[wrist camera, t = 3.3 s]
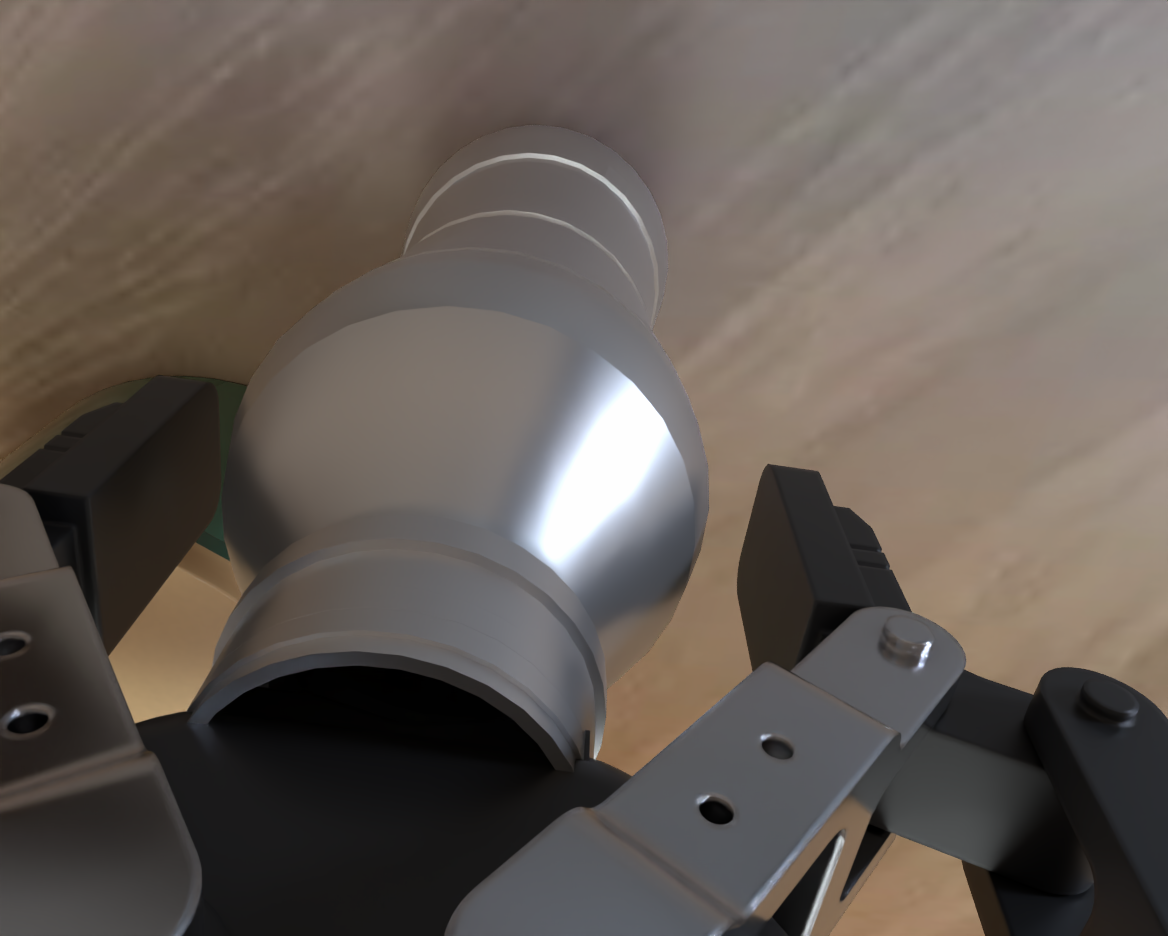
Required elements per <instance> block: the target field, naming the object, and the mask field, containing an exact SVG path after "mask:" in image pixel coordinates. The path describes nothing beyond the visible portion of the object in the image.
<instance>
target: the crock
mask: <svg viewBox="0 0 1168 936" xmlns="http://www.w3.org/2000/svg"><path fill="white" fill-rule="evenodd" d="M173 377H176V378H183V379H190V380H197V381H203V382H210V383H213V384H214V386H215V387H216V389H217V393H218V398H219V421H220V454H221V491H220V497H219V502H218V506H217V509H216V512H215V515H214V517H213V519H212V521H211V522H210V524H209V525H208V526H207V528H206V529H205V530H204V532H203V533H202V534H201V536H200V537H199V538H198V539H197V541H196V542H195V543H194V545H193V546H192V547H191V549H190V550H189V551H188V553H187V554H186V555H185V557H184V558H183V559H182V561H181V562H180V563H179V564H178V566H177V567H176V568H175V570H174V571H173V572H172V574H171V575H170V576H169V578H168V579H167V580H166V582H165V583H164V584H163V585H162V587H161V588H160V589H159V591H158V592H157V593H156V595H155V596H154V597H153V599H152V600H151V601H150V603H149V604H148V605H147V606H146V608H145V609H144V610H143V612H142V613H141V614H140V616H139V617H138V618H137V620H136V621H135V622H134V624H133V625H132V626H131V628H130V629H129V630H128V631H127V633H126V634H125V635H124V637H123V638H122V639H121V641H120V642H119V643H118V645H117V646H116V647H115V649H114V650H113V651H112V652H111V654H110V655H109V656H108V657H109V660H110V662H111V665H112V667H113V670H114V672H115V675H116V677H117V680H118V682H119V685H120V687H121V690H122V692H123V695H124V697H125V700H126V702H127V705H128V707H129V710H130V712H131V715H132V717H133V720H134V722H135V723H138V722H141V721H145V720H148V719H151V718H155V717H159V716H164V715H168V714H173V713H177V712H184V711H187V709H188V708H189V706H190V704H191V703H192V701H193V699H194V698H195V696H196V694H197V693H198V691H199V689H200V688H201V686H202V684H203V682H204V681H205V679H206V677H207V676H208V674H209V672H210V671H211V669H212V664H213V658H214V653H215V647H216V645H217V642H218V640H219V638H220V636H221V634H222V631H223V629H224V627H225V625H226V623H227V620H228V618H229V616H230V615H231V613H232V611H233V610H234V608H235V606H236V605H237V603H238V601H239V600H240V598H241V596H242V595H241V592H240V590H239V587H238V584H237V582H236V579H235V576H234V572H233V569H232V565H231V562H230V558H229V555H228V551H227V547H226V544H225V540H224V531H223V515H222V499H221V497H222V490H223V484H224V478H225V472H226V466H227V459H228V453H229V448H230V442H231V436H232V430H233V424H234V419H235V416H236V414H237V411H238V409H239V406H240V404H241V401H242V399H243V396H244V394H245V392H246V389H247V387H248V386H245V385H241V384H236V383H231V382H227V381H222V380H217V379H210V378H200V377H189V376H173ZM153 378H154V377H153ZM153 378H147V379H141V380H135V381H129V382H126V383H122V384H119V385H116V386H113V387H109V388H106V389H103V390H101V391H99V392H97V393H95V394H93V395H91V396H89V397H87V398H85V399H82V400H81V401H79V402H78V403H76V404H75V405H73V406H72V407H71V408H69V409H68V410H66V411H65V412H63V413H62V414H61V415H59V416H58V417H57V418H55V419H54V420H53V421H52V422H50V423H49V424H48V425H46V426H45V427H44V428H43V429H41V430H40V431H39V432H37V433H36V434H35V435H34V436H32V437H31V438H30V439H29V440H27V441H26V442H25V443H23V444H22V445H21V446H20V447H18V448H17V449H16V450H14V451H13V452H12V453H11V454H9V455H8V456H7V457H5V458H4V459H3V460H2V461H0V480H1V479H2V478H3V477H5V476H6V475H7V474H8V473H10V472H11V471H12V470H13V469H15V468H16V467H17V466H19V465H20V464H21V463H22V462H24V461H25V460H26V459H27V458H29V457H30V456H31V455H32V454H34V453H35V452H36V451H37V450H39V449H44V445H45V444H46V443H47V442H49V441H50V440H51V439H52V438H54V437H55V436H56V435H61V431H62V430H64V429H65V428H66V427H67V426H69V425H70V424H71V423H72V422H74V421H75V420H76V419H78V418H79V417H80V416H81V415H83V414H85V413H88V412H91V411H93V410H96V409H99V408H101V407H104V406H107V405H109V404H112V403H115V402H118V403H124V402H125V401H127V400H128V399H129V398H130V397H131V396H133V395H134V394H135V393H136V392H137V391H139V390H140V389H141V388H142V387H143V386H145V385H146V384H147V383H148V382H149V381H150V380H152V379H153Z"/></svg>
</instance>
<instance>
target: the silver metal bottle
mask: <svg viewBox="0 0 1168 936" xmlns="http://www.w3.org/2000/svg"><path fill="white" fill-rule="evenodd" d="M667 273H668V249H667V239H666V234H665V230H664V226H663V221H662V217H661V214H660V212H659V210H658V208H657V205H656V203H655V201H654V199H653V197H652V194H651V192H650V190H649V189H648V188H647V186H646V185H645V183H644V182H643V181H642V179H641V178H640V177H639V175H638V174H637V172H636V171H635V170H634V168H632V167H631V166H630V165H629V164H628V163H627V162H626V161H625V160H624V159H623V158H621V157H620V156H619V155H618V154H617V153H616V152H615V151H614V150H612V149H611V148H609V147H607V146H605V145H604V144H602V143H600V142H599V141H597V140H595V139H593V138H592V137H590V136H587V135H584V134H581V133H578V132H575V131H572V130H569V129H566V128H563V127H553V126H544V125H528V126H518V127H509V128H505V129H502V130H499V131H496V132H493V133H490V134H487V135H484V136H482V137H480V138H478V139H477V140H475V141H473V142H471V143H470V144H468V145H466V146H465V147H463V148H461V149H460V150H458V151H457V152H456V153H455V154H454V155H453V156H451V157H450V158H449V159H448V160H447V161H446V162H445V163H444V164H443V165H442V166H441V167H439V168H438V170H437V171H436V172H435V174H434V175H433V176H432V178H431V179H430V181H429V182H428V183H427V185H426V186H425V188H424V189H423V190H422V192H421V195H420V197H419V199H418V201H417V203H416V206H415V208H414V210H413V212H412V214H411V217H410V221H409V224H408V228H407V231H406V236H405V240H404V244H403V249H402V253H401V257H399V258H397V259H395V260H393V261H391V262H389V263H387V264H384V265H382V266H381V267H377V268H375V269H373V270H371V271H369V272H368V273H366V274H364V275H362V276H361V277H359V278H357V279H355V280H354V281H352V282H350V283H348V284H346V285H345V286H343V287H341V288H339V289H338V290H336V291H334V292H333V293H332V294H331V295H330V296H328V297H327V298H326V299H325V300H323V301H322V302H320V303H319V304H318V305H316V306H315V307H313V308H312V309H311V310H310V311H309V312H308V313H307V314H306V315H304V316H303V317H302V318H301V319H300V320H299V321H298V322H297V323H296V324H294V325H293V326H292V327H291V328H290V329H289V330H288V331H287V332H286V333H284V334H283V335H282V336H281V337H280V338H279V339H278V340H277V341H276V343H275V344H274V346H273V347H272V349H271V350H270V351H269V353H268V354H267V356H266V357H265V358H264V360H263V361H262V363H261V364H260V366H259V367H258V368H257V370H256V371H255V373H254V374H253V376H252V377H251V379H250V382H249V384H248V387H247V389H246V392H245V394H244V396H243V399H242V401H241V404H240V406H239V409H238V411H237V414H236V416H235V419H234V424H233V430H232V436H231V442H230V448H229V453H228V459H227V466H226V472H225V478H224V484H223V490H222V497H221V499H222V515H223V531H224V540H225V544H226V547H227V551H228V555H229V558H230V562H231V565H232V569H233V572H234V576H235V579H236V582H237V584H238V587H239V590H240V592H241V595H242V596H241V598H240V600H239V601H238V603H237V605H236V606H235V608H234V610H233V611H232V613H231V615H230V616H229V618H228V620H227V623H226V625H225V627H224V629H223V631H222V634H221V636H220V638H219V640H218V642H217V645H216V647H215V653H214V658H213V664H212V669H211V671H210V672H209V674H208V676H207V677H206V679H205V681H204V682H203V684H202V686H201V688H200V689H199V691H198V693H197V694H196V696H195V698H194V699H193V701H192V703H191V704H190V706H189V708H188V709H187V711H186V712H193V713H192V715H191V717H190V719H189V720H188V722H189V723H200V724H208V722H209V721H210V720H211V719H212V718H213V716H214V715H215V714H216V713H217V712H218V711H220V710H221V709H223V708H224V707H225V706H227V705H228V704H229V703H231V702H232V701H233V700H235V699H236V698H237V697H239V696H240V695H241V694H243V693H244V692H247V691H249V690H251V689H253V688H255V687H265V688H273V689H280V690H288V691H295V692H303V693H310V694H318V695H321V696H324V697H327V698H330V699H333V700H336V701H339V702H342V703H345V704H348V705H351V706H354V707H357V708H360V709H363V710H366V711H369V712H372V713H375V714H378V715H381V716H383V717H386V718H389V719H392V720H395V721H399V722H404V723H430V722H450V721H470V720H490V719H507V720H514V721H515V722H516V723H517V724H518V725H519V726H520V727H521V728H522V729H523V730H524V731H525V732H526V733H527V734H528V735H529V736H530V737H531V738H532V739H533V740H534V741H535V742H536V743H537V744H538V745H539V746H540V748H541V749H542V751H543V752H544V754H545V755H546V757H547V758H548V760H549V761H550V763H551V764H552V765H553V767H554V768H555V770H560V771H568V772H574V763H575V759H580V760H584V743H585V730H590V752H589V757H590V758H593V759H596V757H597V754H598V752H599V750H600V747H601V743H602V737H603V731H604V725H605V719H606V701H607V689H608V688H609V687H610V686H612V685H613V684H614V683H615V682H617V681H618V680H619V679H620V678H621V677H622V676H623V675H624V674H625V673H627V672H628V671H629V670H630V669H631V668H632V667H633V666H634V665H635V664H636V663H637V662H638V661H639V660H641V659H642V658H643V657H644V656H645V655H646V654H647V653H648V652H649V650H650V649H651V648H652V646H653V645H654V643H655V642H656V641H657V639H658V638H659V637H660V635H661V634H662V632H663V631H664V630H665V628H666V627H667V625H668V624H669V623H670V621H671V619H672V617H673V615H674V613H675V610H676V608H677V606H678V604H679V601H680V599H681V597H682V595H683V592H684V590H685V588H686V586H687V583H688V581H689V578H690V576H691V573H692V571H693V568H694V566H695V563H696V561H697V558H698V556H699V553H700V550H701V545H702V540H703V536H704V531H705V526H706V521H707V516H708V511H709V485H708V463H707V459H706V455H705V451H704V446H703V442H702V438H701V434H700V430H699V425H698V422H697V419H696V417H695V414H694V412H693V409H692V406H691V403H690V400H689V397H688V395H687V393H686V391H685V389H684V387H683V384H682V382H681V380H680V378H679V376H678V374H677V372H676V370H675V368H674V366H673V364H672V362H671V360H670V358H669V357H668V355H667V354H666V352H665V351H664V349H663V347H662V346H661V344H660V343H659V341H658V339H657V338H656V336H655V335H654V333H653V331H652V329H653V326H654V324H655V321H656V318H657V315H658V313H659V310H660V307H661V303H662V300H663V296H664V291H665V285H666V279H667Z"/></svg>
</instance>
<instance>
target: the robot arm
mask: <svg viewBox="0 0 1168 936" xmlns="http://www.w3.org/2000/svg"><path fill="white" fill-rule="evenodd" d="M220 491H221V454H220V421H219V398H218V393H217V389H216V387H215V386H214V384H213V383H210V382H203V381H197V380H190V379H183V378H176V377H169V376H162V375H158V376H156V377H154V378H153V379H152V380H150V381H149V382H148V383H147V384H146V385H145V386H143V387H142V388H141V389H140V390H139V391H137V392H136V393H135V394H134V395H133V396H131V397H130V398H129V399H128V400H127V401H125V402H124V403H118V402H115V403H112V404H109V405H107V406H104V407H101V408H99V409H96V410H93V411H91V412H88V413H85V414H83V415H81V416H80V417H79V418H78V419H76V420H75V421H74V422H72V423H71V424H70V425H69V426H67V427H66V428H65V429H64V430H62V431H61V435H56V436H55V437H54V438H52V439H51V440H50V441H49V442H47V443H46V444H45V445H44V449H39V450H37V451H36V452H35V453H34V454H32V455H31V456H30V457H29V458H27V459H26V460H25V461H24V462H22V463H21V464H20V465H19V466H17V467H16V468H15V469H13V470H12V471H11V472H10V473H8V474H7V475H6V476H5V477H3V478H2V479H1V480H0V936H829V935H830V933H831V932H832V930H833V929H834V927H835V926H836V924H837V923H838V921H839V920H840V919H841V917H842V916H843V914H844V913H845V911H846V910H847V908H848V907H849V905H850V904H851V903H852V901H853V900H854V898H855V897H856V895H857V894H858V892H859V891H860V889H861V888H862V887H863V885H864V884H865V882H866V881H867V879H868V878H869V876H870V875H871V874H872V872H873V871H874V869H875V868H876V866H877V865H878V863H879V862H880V860H881V859H882V858H883V856H884V855H885V853H886V852H887V850H888V849H889V847H890V846H891V844H892V843H893V841H894V839H895V837H896V835H899V836H901V837H904V838H907V839H909V840H912V841H914V842H917V843H919V844H922V845H925V846H927V847H930V848H932V849H935V850H938V851H940V852H943V853H945V854H948V855H951V856H953V857H956V858H958V859H961V860H962V865H963V869H964V872H965V875H966V878H967V882H968V885H969V888H970V891H971V894H972V897H973V900H974V903H975V906H976V909H977V912H978V915H979V918H980V921H981V924H982V928H983V931H984V934H985V936H1168V719H1167V718H1166V716H1165V715H1164V714H1163V713H1162V711H1161V710H1160V709H1159V708H1158V707H1157V706H1156V705H1155V704H1154V703H1152V702H1151V701H1150V700H1149V699H1148V698H1146V697H1145V696H1144V695H1142V694H1141V693H1139V692H1138V691H1136V690H1135V689H1133V688H1131V687H1130V686H1128V685H1126V684H1124V683H1122V682H1120V681H1118V680H1116V679H1114V678H1111V677H1109V676H1106V675H1104V674H1100V673H1097V672H1094V671H1090V670H1086V669H1081V668H1072V667H1062V668H1055V669H1053V670H1050V671H1048V672H1047V673H1045V674H1044V675H1043V677H1042V678H1041V680H1040V682H1039V684H1038V687H1037V689H1036V691H1035V693H1034V695H1032V694H1029V693H1026V692H1023V691H1020V690H1017V689H1014V688H1011V687H1008V686H1005V685H1002V684H999V683H996V682H993V681H990V680H988V679H985V678H982V677H980V676H977V675H975V674H973V673H971V672H968V671H966V670H964V668H965V665H966V656H965V653H964V651H963V648H962V647H961V645H960V644H959V643H958V641H957V640H956V639H955V638H954V637H953V636H952V635H951V634H950V633H948V632H947V631H946V630H945V629H943V628H942V627H940V626H939V625H937V624H936V623H934V622H932V621H930V620H928V619H926V618H924V617H922V616H920V615H917V614H914V613H912V611H911V609H910V607H909V605H908V603H907V601H906V599H905V597H904V595H903V592H902V590H901V588H900V586H899V584H898V582H897V580H896V578H895V576H894V573H893V571H892V570H889V567H890V565H889V563H888V561H887V559H886V557H885V555H884V553H881V550H882V548H881V546H880V544H879V542H878V540H877V538H876V536H875V534H874V531H873V529H872V528H871V527H870V526H869V525H868V524H867V523H866V522H864V521H863V520H862V519H861V518H860V517H859V516H858V515H857V514H855V513H854V512H853V511H852V510H851V509H850V508H844V507H837V506H833V504H832V501H831V499H830V497H829V494H828V492H827V489H826V487H825V485H824V482H823V480H822V478H821V475H820V473H819V472H818V471H813V470H806V469H799V468H792V467H785V466H778V465H771V464H768V465H767V466H766V467H765V469H764V470H763V473H762V475H761V478H760V482H759V486H758V490H757V494H756V497H755V501H754V505H753V509H752V513H751V517H750V521H749V525H748V529H747V532H746V536H745V540H744V544H743V548H742V552H741V556H740V561H739V567H738V577H737V595H738V601H739V606H740V611H741V616H742V621H743V626H744V631H745V636H746V641H747V646H748V651H749V656H750V661H751V666H752V671H753V672H752V673H751V674H750V675H749V676H748V677H746V678H745V679H744V680H743V681H742V682H741V683H740V684H738V685H737V686H736V687H735V688H734V689H733V690H731V691H730V692H729V693H728V694H727V695H726V696H725V697H723V698H722V699H721V700H720V701H719V702H718V703H716V704H715V705H714V706H713V707H712V708H711V709H710V710H708V711H707V712H706V713H705V714H704V715H703V716H702V717H700V718H699V719H698V720H697V721H696V722H695V723H693V724H692V725H691V726H690V727H689V728H688V729H687V730H685V731H684V732H683V733H682V734H681V735H680V736H678V737H677V738H676V739H675V740H674V741H673V742H672V743H670V744H669V745H668V746H667V747H666V748H665V749H663V750H662V751H661V752H660V753H659V754H658V755H657V756H655V757H654V758H653V759H652V760H651V761H650V762H649V763H647V764H646V765H645V766H644V767H643V768H642V769H640V770H639V771H638V772H637V773H636V774H635V775H634V776H630V775H629V774H627V773H625V772H623V771H621V770H619V769H617V768H615V767H613V766H610V765H608V764H606V763H604V762H601V761H598V760H596V759H593V758H590V757H589V752H590V730H585V743H584V760H580V759H575V763H574V772H568V771H560V770H555V768H554V767H553V765H552V764H551V763H550V761H549V760H548V758H547V757H546V755H545V754H544V752H543V751H542V749H541V748H540V746H539V745H538V744H537V743H536V742H535V741H534V740H533V739H532V738H531V737H530V736H529V735H528V734H527V733H526V732H525V731H524V730H523V729H522V728H521V727H520V726H519V725H518V724H517V723H516V722H515V721H514V720H507V719H490V720H470V721H450V722H430V723H404V722H399V721H395V720H392V719H389V718H386V717H383V716H381V715H378V714H375V713H372V712H369V711H366V710H363V709H360V708H357V707H354V706H351V705H348V704H345V703H342V702H339V701H336V700H333V699H330V698H327V697H324V696H321V695H318V694H310V693H303V692H295V691H288V690H280V689H273V688H265V687H255V688H253V689H251V690H249V691H247V692H244V693H243V694H241V695H240V696H239V697H237V698H236V699H235V700H233V701H232V702H231V703H229V704H228V705H227V706H225V707H224V708H223V709H221V710H220V711H218V712H217V713H216V714H215V715H214V716H213V718H212V719H211V720H210V721H209V722H208V724H200V723H189V722H188V720H189V719H190V717H191V715H192V713H193V712H186V711H184V712H177V713H173V714H168V715H164V716H159V717H155V718H151V719H148V720H145V721H141V722H138V723H135V722H134V720H133V717H132V715H131V712H130V710H129V707H128V705H127V702H126V700H125V697H124V695H123V692H122V690H121V687H120V685H119V682H118V680H117V677H116V675H115V672H114V670H113V667H112V665H111V662H110V660H109V657H108V656H109V655H110V654H111V652H112V651H113V650H114V649H115V647H116V646H117V645H118V643H119V642H120V641H121V639H122V638H123V637H124V635H125V634H126V633H127V631H128V630H129V629H130V628H131V626H132V625H133V624H134V622H135V621H136V620H137V618H138V617H139V616H140V614H141V613H142V612H143V610H144V609H145V608H146V606H147V605H148V604H149V603H150V601H151V600H152V599H153V597H154V596H155V595H156V593H157V592H158V591H159V589H160V588H161V587H162V585H163V584H164V583H165V582H166V580H167V579H168V578H169V576H170V575H171V574H172V572H173V571H174V570H175V568H176V567H177V566H178V564H179V563H180V562H181V561H182V559H183V558H184V557H185V555H186V554H187V553H188V551H189V550H190V549H191V547H192V546H193V545H194V543H195V542H196V541H197V539H198V538H199V537H200V536H201V534H202V533H203V532H204V530H205V529H206V528H207V526H208V525H209V524H210V522H211V521H212V519H213V517H214V515H215V512H216V509H217V506H218V502H219V497H220Z"/></svg>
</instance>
